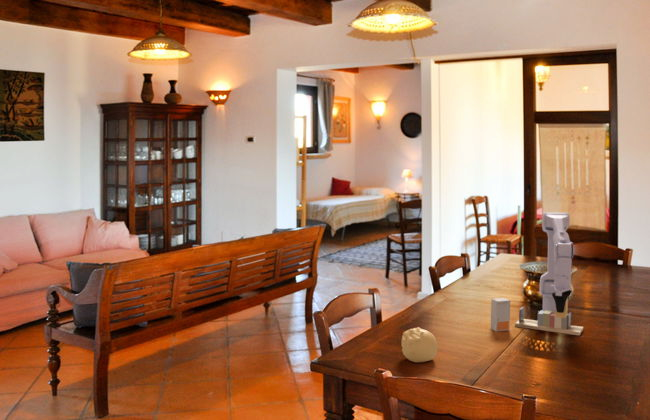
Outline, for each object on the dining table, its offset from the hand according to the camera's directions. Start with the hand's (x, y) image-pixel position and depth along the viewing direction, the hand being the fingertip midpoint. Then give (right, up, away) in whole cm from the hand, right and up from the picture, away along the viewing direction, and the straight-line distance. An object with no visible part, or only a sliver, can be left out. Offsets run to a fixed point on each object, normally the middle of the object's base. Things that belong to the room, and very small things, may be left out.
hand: (561, 310), depth 235 cm
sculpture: (-56, -13, -21) cm, 61 cm away
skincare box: (-20, -9, +11) cm, 24 cm away
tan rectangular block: (0, -2, 0) cm, 2 cm away
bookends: (-2, -7, +12) cm, 15 cm away
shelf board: (-1, -9, +12) cm, 15 cm away
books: (+1, -8, +11) cm, 13 cm away
